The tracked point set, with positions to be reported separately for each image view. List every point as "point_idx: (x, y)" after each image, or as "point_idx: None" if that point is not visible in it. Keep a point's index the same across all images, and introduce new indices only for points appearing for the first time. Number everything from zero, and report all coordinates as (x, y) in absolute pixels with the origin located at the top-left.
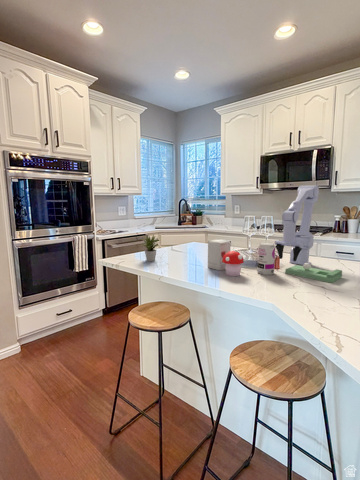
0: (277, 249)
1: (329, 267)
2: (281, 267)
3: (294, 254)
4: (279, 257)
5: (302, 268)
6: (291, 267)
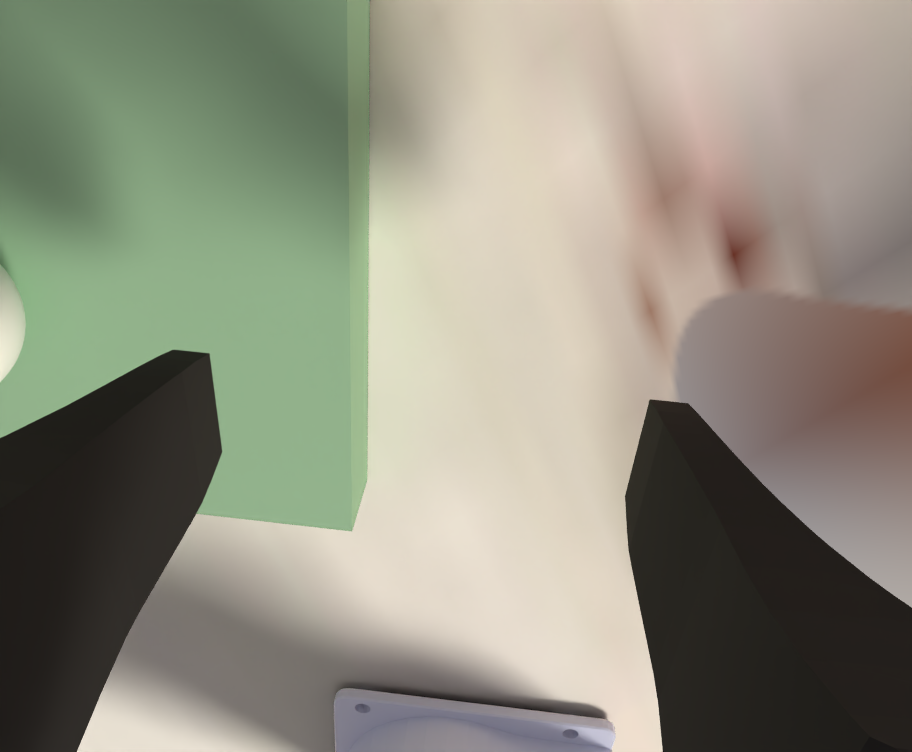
0: (907, 630)
1: (81, 746)
2: (632, 407)
3: (17, 459)
4: (692, 419)
5: (113, 351)
6: (322, 286)
